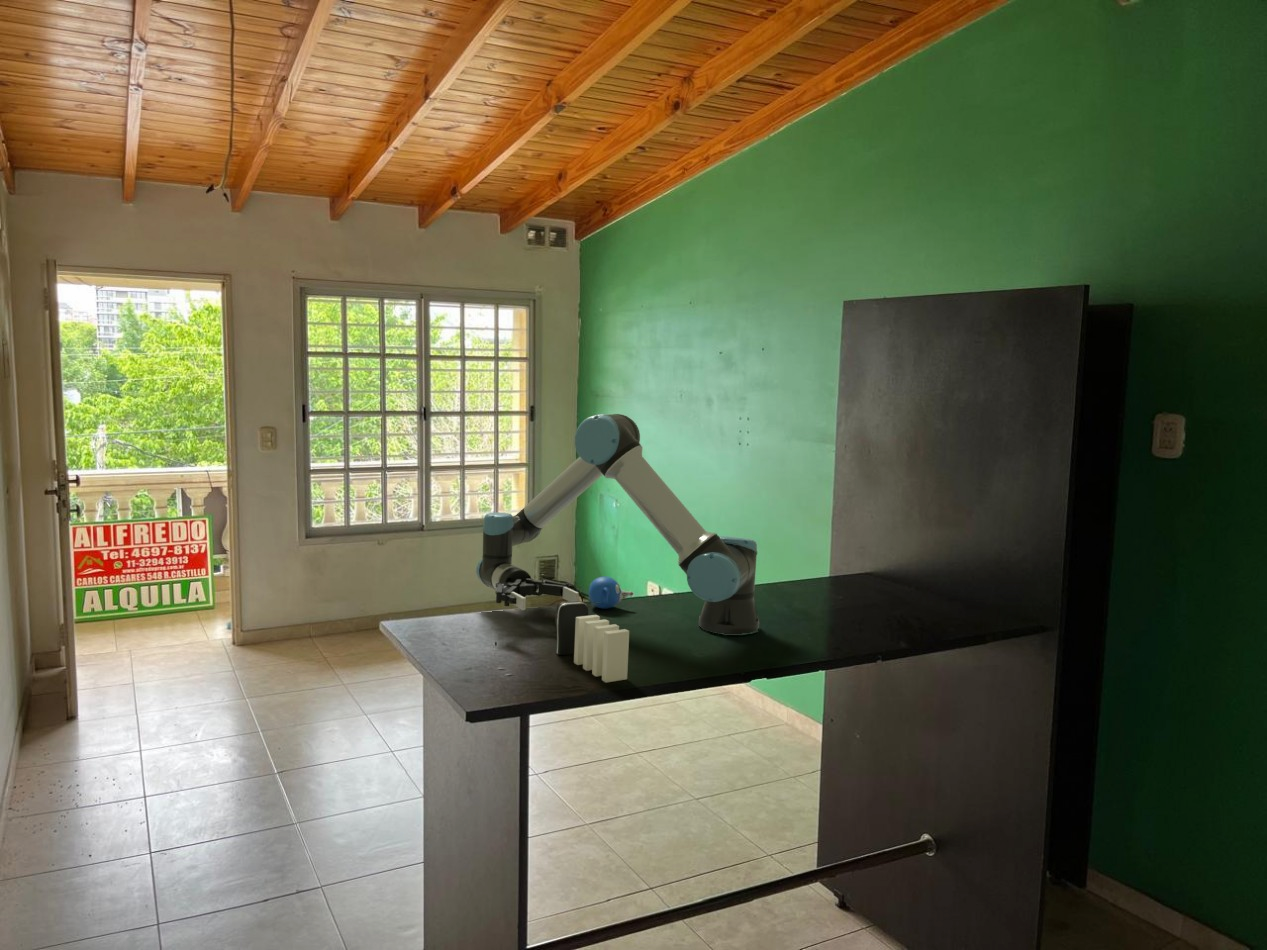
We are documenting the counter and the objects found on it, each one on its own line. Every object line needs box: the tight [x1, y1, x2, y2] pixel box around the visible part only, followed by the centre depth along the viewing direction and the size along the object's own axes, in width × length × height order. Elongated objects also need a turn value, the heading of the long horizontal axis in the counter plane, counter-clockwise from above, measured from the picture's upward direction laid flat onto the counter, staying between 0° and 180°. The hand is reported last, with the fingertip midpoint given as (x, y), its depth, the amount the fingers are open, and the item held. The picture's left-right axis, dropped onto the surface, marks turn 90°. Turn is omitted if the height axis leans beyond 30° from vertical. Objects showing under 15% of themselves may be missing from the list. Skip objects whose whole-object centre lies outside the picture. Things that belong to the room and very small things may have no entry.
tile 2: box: [582, 619, 610, 672], centre depth 184 cm, size 5×2×10 cm, turn 122°
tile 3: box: [591, 623, 620, 677], centre depth 181 cm, size 5×2×10 cm, turn 122°
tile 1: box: [573, 614, 601, 666], centre depth 187 cm, size 5×2×10 cm, turn 122°
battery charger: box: [554, 600, 589, 656], centre depth 194 cm, size 7×4×11 cm, turn 113°
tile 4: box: [601, 628, 630, 683], centre depth 177 cm, size 5×2×10 cm, turn 122°
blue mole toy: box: [588, 576, 634, 610], centre depth 234 cm, size 12×12×8 cm
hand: (551, 601), depth 201 cm, fingers open, 13 cm apart
